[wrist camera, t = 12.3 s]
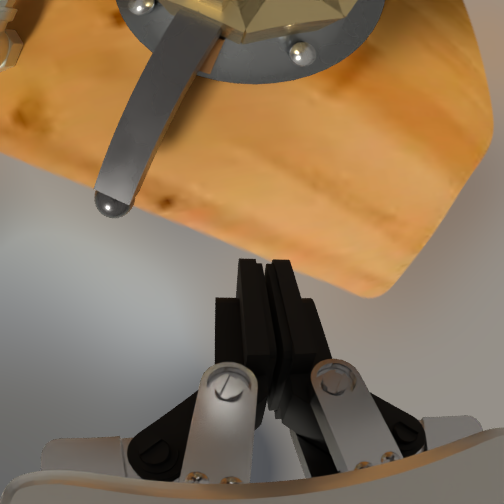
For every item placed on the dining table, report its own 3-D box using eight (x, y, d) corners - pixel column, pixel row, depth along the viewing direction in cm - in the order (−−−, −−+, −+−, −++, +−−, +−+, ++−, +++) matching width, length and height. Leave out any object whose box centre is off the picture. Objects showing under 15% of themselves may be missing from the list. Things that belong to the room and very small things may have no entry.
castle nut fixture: (221, -120, 9) (221, -170, 3) (375, -48, 12) (425, -78, 7) (49, 169, 19) (-2, 205, 13) (195, 235, 22) (186, 293, 17)
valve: (24, 83, 17) (92, -51, 12) (-29, 92, 11) (55, -80, 6) (-23, 67, 15) (36, -56, 10) (-74, 76, 9) (-6, -76, 4)
